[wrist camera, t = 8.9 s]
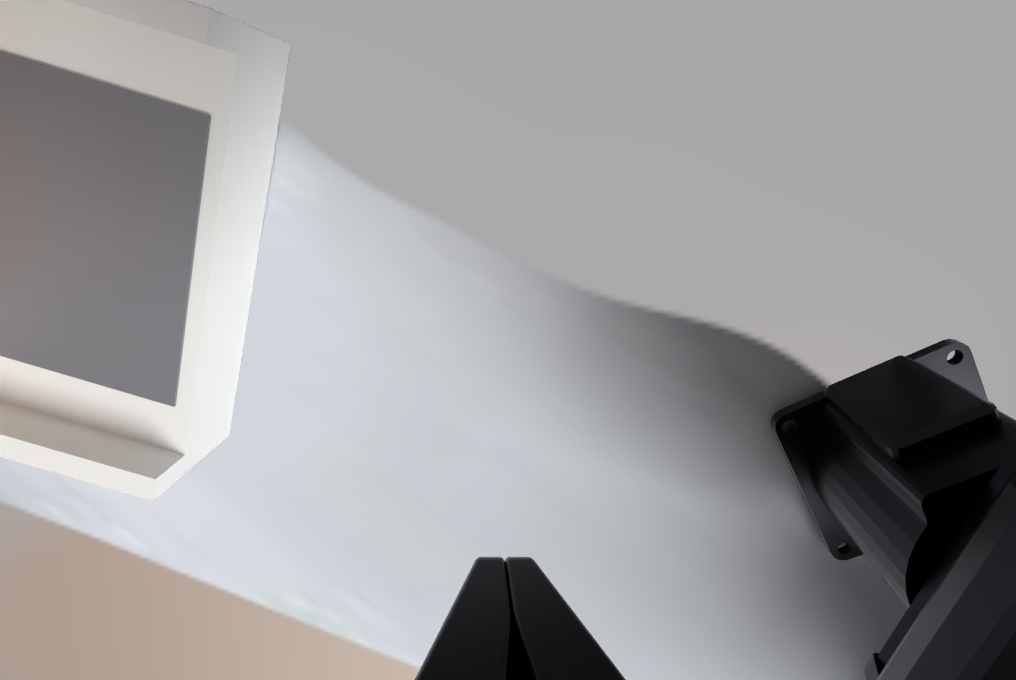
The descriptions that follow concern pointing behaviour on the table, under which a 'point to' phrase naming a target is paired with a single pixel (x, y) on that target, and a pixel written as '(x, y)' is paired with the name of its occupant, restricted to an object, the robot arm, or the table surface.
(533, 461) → the table surface
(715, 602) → the table surface
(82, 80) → the camera case
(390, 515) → the table surface
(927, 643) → the robot arm
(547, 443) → the table surface
